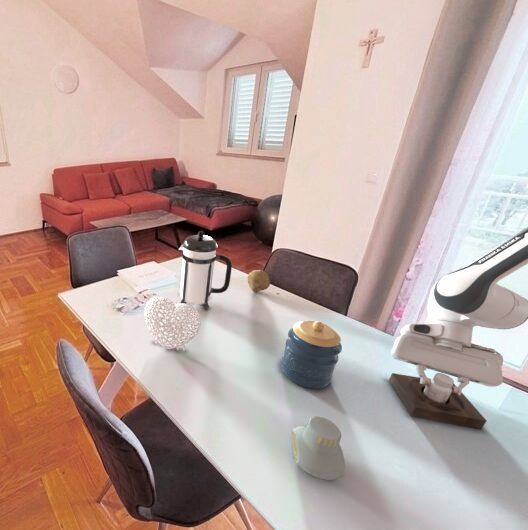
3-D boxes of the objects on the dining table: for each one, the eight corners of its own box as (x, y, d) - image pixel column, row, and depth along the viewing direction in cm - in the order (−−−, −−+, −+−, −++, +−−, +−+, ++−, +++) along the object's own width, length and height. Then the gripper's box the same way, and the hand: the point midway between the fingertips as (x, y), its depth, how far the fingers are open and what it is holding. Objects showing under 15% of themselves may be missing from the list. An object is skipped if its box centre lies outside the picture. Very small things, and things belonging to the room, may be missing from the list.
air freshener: (343, 492, 61) (358, 458, 57) (297, 480, 63) (308, 447, 59) (327, 442, 71) (339, 410, 67) (287, 433, 73) (296, 402, 69)
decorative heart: (201, 347, 101) (207, 301, 94) (190, 367, 93) (195, 319, 86) (151, 330, 109) (153, 287, 102) (137, 347, 101) (137, 302, 94)
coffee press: (193, 316, 118) (201, 241, 105) (168, 297, 130) (172, 228, 118) (227, 304, 125) (238, 233, 113) (200, 288, 138) (207, 222, 126)
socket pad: (449, 391, 84) (453, 383, 83) (481, 429, 74) (487, 420, 72) (388, 381, 88) (392, 372, 86) (410, 416, 77) (415, 407, 76)
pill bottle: (441, 398, 81) (454, 375, 78) (445, 410, 77) (459, 387, 74) (419, 391, 83) (431, 369, 80) (422, 402, 80) (435, 379, 76)
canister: (304, 354, 98) (318, 305, 91) (341, 383, 87) (360, 331, 79) (270, 363, 94) (281, 313, 87) (304, 395, 83) (320, 341, 76)
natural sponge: (264, 287, 138) (269, 266, 134) (270, 297, 130) (275, 276, 126) (243, 286, 139) (247, 265, 135) (247, 296, 131) (251, 274, 127)
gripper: (495, 353, 79) (490, 408, 75) (393, 327, 89) (385, 375, 86) (511, 349, 74) (507, 407, 70) (401, 322, 84) (392, 372, 80)
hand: (439, 389), depth 78 cm, fingers closed on pill bottle, 4 cm apart
